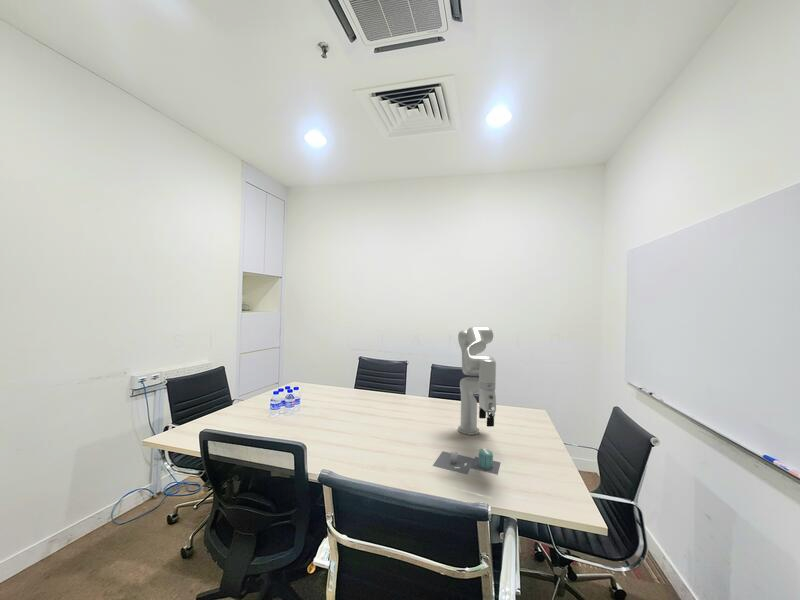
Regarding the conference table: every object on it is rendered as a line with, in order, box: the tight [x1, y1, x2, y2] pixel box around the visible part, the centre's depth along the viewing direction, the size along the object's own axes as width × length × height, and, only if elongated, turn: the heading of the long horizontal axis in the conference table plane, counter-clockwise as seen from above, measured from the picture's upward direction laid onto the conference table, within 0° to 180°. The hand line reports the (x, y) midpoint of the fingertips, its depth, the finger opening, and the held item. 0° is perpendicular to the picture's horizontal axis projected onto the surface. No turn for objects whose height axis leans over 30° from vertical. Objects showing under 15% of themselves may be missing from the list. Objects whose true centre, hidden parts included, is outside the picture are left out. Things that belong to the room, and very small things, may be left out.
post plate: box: [432, 450, 475, 475], centre depth 147 cm, size 16×16×5 cm
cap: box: [478, 448, 494, 468], centre depth 144 cm, size 6×6×6 cm
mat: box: [470, 456, 501, 476], centre depth 144 cm, size 12×12×1 cm
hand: (486, 422), depth 145 cm, fingers open, 9 cm apart
